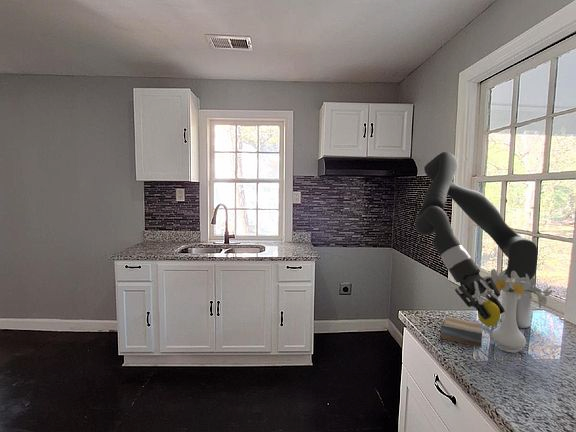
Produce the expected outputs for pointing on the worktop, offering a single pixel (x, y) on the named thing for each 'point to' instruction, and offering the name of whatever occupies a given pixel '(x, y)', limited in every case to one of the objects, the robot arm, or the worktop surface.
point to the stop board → (462, 331)
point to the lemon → (493, 312)
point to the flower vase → (513, 308)
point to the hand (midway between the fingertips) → (494, 315)
